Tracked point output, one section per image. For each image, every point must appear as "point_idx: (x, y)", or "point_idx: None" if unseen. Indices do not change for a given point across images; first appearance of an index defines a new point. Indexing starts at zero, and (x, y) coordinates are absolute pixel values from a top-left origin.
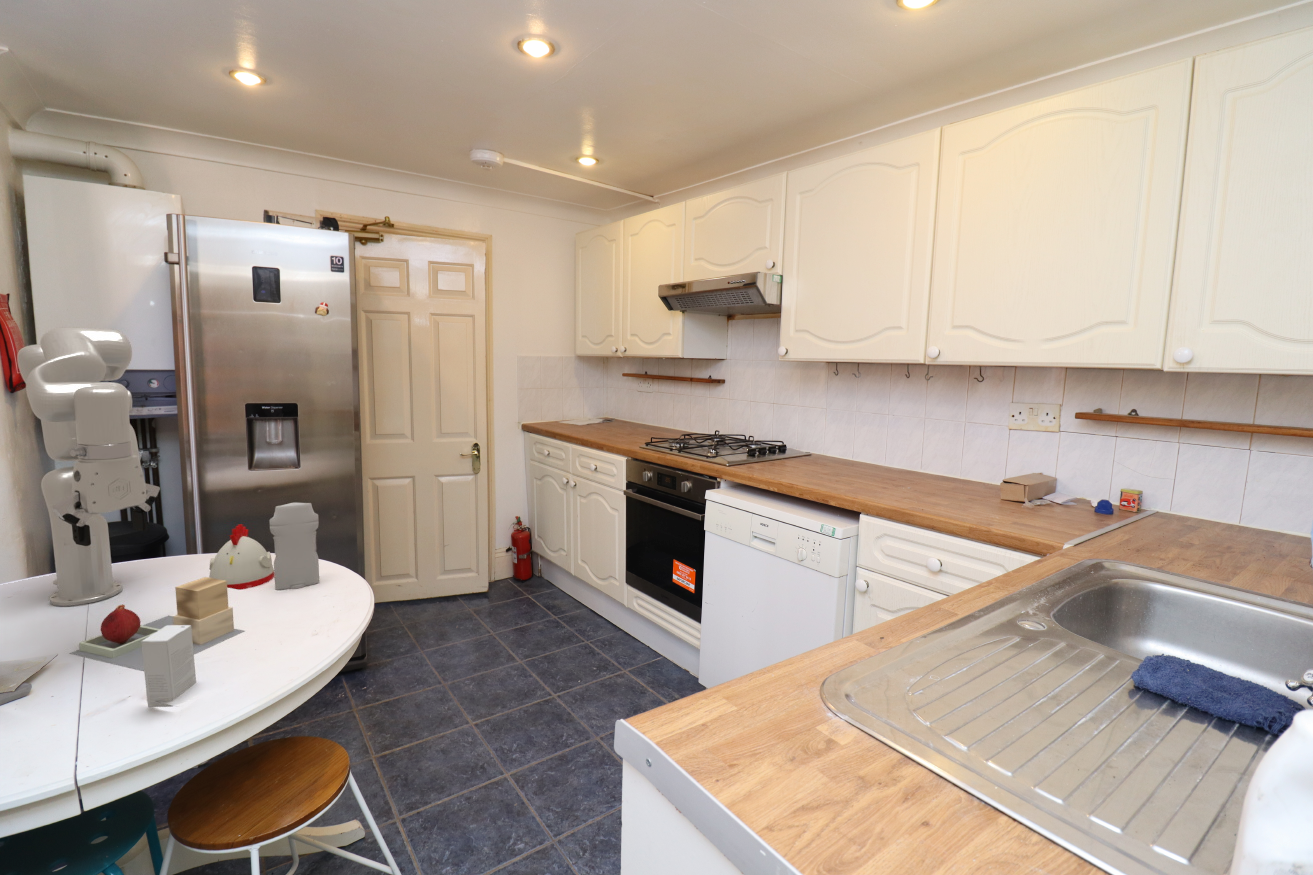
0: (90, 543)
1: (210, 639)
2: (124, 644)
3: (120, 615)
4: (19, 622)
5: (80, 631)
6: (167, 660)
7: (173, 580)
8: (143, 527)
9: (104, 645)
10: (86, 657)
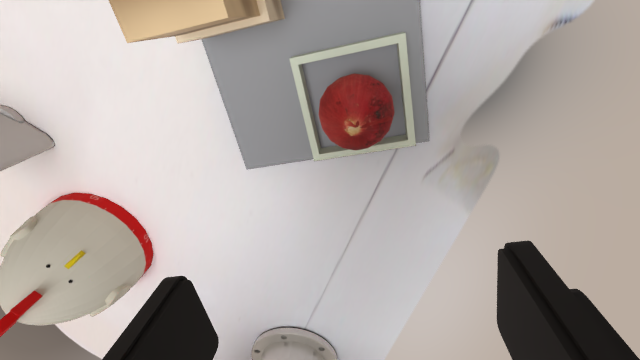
0: (506, 249)
1: None
2: None
3: (362, 100)
4: (388, 336)
5: (358, 240)
6: None
7: None
8: (174, 295)
9: None
10: (425, 89)
